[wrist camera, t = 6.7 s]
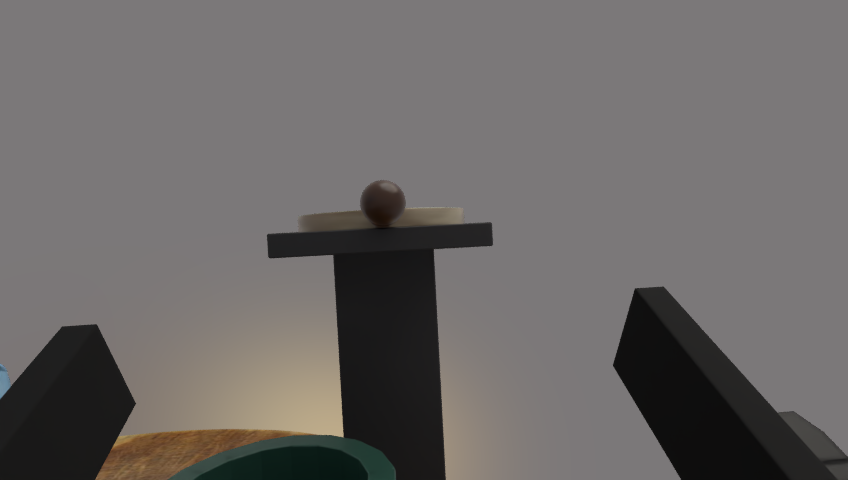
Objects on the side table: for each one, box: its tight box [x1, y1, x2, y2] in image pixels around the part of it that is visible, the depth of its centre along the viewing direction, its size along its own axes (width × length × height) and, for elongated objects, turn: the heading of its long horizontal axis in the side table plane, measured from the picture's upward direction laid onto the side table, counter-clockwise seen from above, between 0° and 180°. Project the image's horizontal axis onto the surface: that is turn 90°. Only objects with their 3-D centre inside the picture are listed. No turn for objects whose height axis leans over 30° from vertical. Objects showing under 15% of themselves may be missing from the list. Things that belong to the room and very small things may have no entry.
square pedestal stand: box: [267, 222, 493, 480], centre depth 36 cm, size 14×14×32 cm
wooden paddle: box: [298, 180, 464, 232], centre depth 30 cm, size 24×13×2 cm, turn 5°
